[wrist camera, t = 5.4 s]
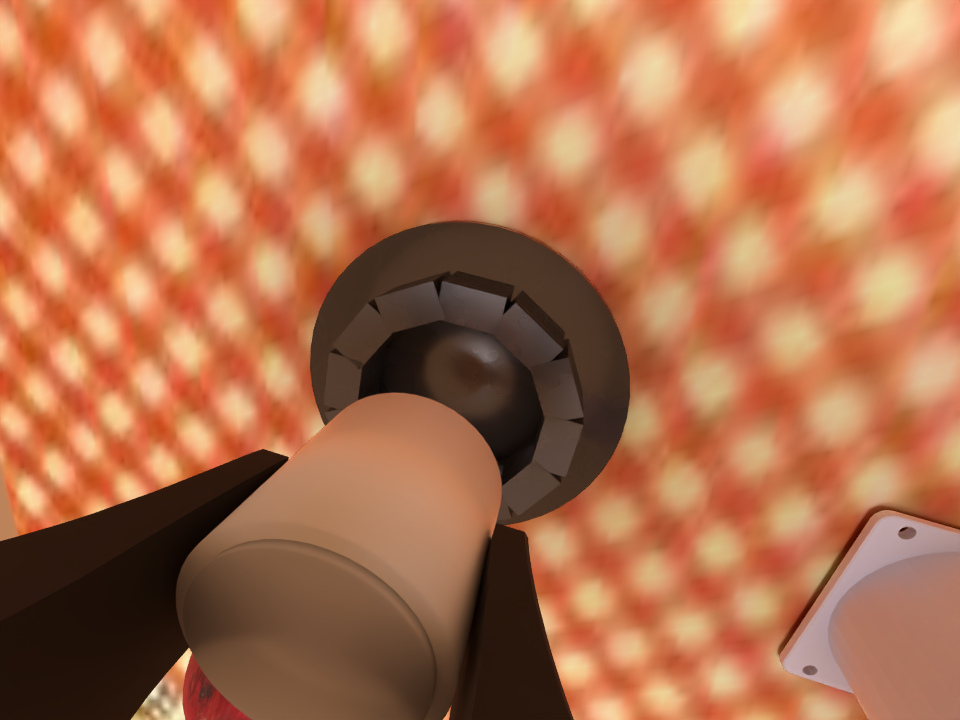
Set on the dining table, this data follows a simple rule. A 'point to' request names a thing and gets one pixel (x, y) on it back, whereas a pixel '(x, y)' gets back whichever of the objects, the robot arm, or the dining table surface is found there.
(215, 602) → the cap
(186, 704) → the onion
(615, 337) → the ridged round lid
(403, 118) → the dining table surface
